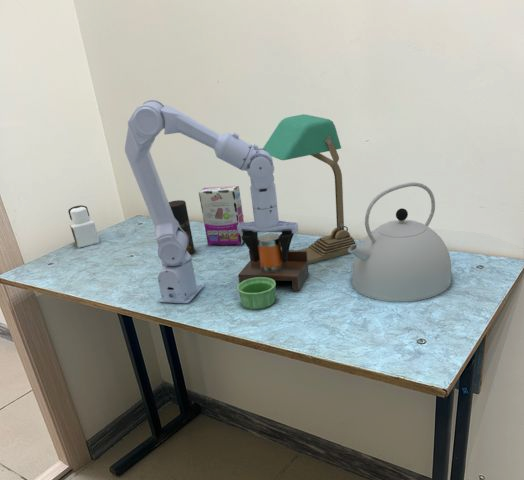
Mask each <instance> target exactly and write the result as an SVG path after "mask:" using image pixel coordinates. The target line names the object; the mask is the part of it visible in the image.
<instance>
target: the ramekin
mask: <svg viewBox="0 0 524 480" xmlns="http://www.w3.org/2000/svg"><path fill="white" fill-rule="evenodd" d="M276 285H277V283H276V280H273V279H271V278H267V277H255V278H250V279H247V280H244V281H242V282H241V283H239V282H238V284H237V287H236V289H237V292H238V296H239V298H240V299H239V300H240V303H241V305H242V306H243V307H244V308H246V309H249V310H250V309H251V310H261V309H265V308H268V307H271V306H272V305H273V304H274V303H275V302H276Z"/></svg>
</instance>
